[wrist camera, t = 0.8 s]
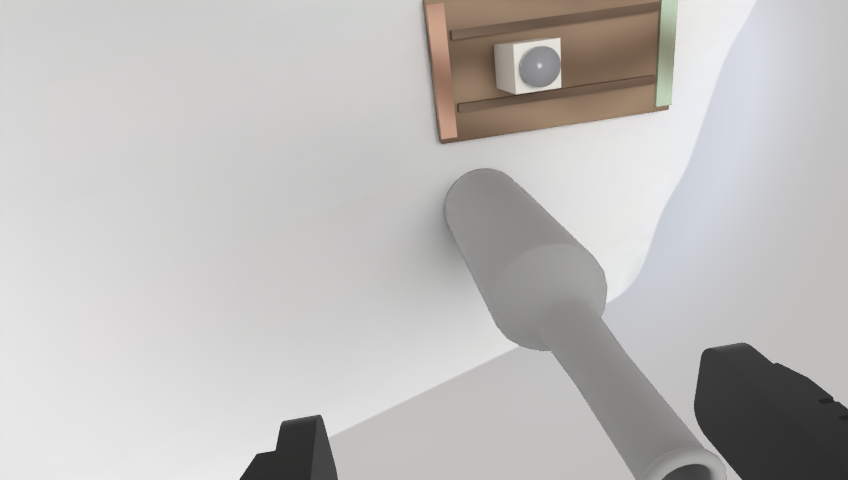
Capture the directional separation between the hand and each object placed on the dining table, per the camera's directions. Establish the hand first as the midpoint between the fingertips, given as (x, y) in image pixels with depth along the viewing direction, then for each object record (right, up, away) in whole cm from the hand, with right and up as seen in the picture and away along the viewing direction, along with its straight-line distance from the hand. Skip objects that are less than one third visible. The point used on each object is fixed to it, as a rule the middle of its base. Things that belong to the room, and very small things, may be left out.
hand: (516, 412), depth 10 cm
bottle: (+3, +6, +31) cm, 32 cm away
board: (+8, +17, +27) cm, 33 cm away
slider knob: (+5, +16, +25) cm, 31 cm away
